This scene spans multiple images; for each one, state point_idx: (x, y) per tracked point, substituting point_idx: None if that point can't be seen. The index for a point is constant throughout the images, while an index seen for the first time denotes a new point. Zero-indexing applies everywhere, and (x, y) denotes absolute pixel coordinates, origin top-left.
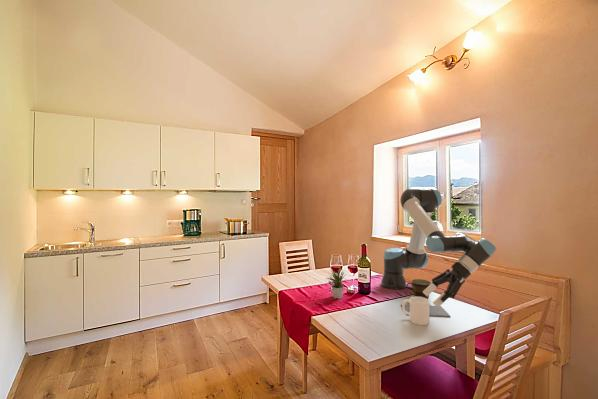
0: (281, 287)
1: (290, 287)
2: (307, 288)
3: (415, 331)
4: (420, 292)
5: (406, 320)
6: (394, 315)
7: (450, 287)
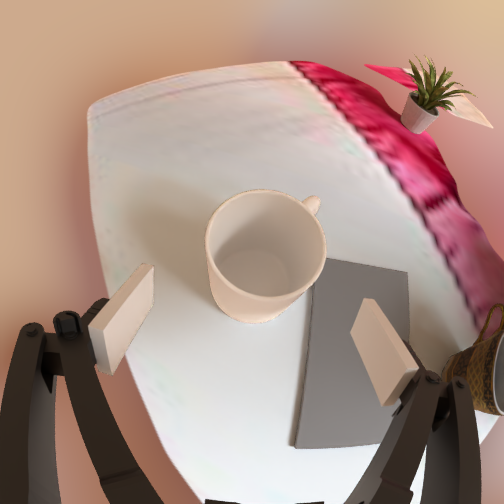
0: None
1: None
2: None
3: (167, 228)
4: (468, 363)
5: None
6: None
7: (73, 407)
